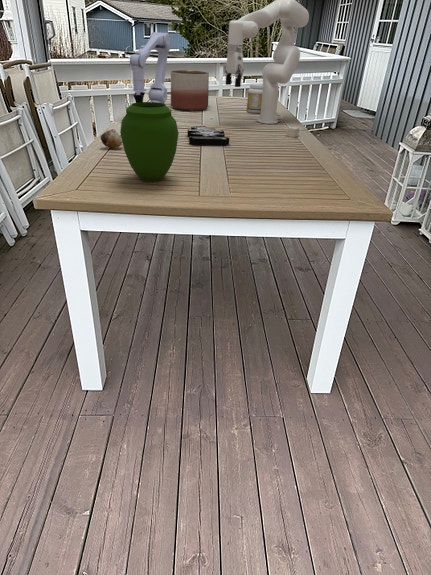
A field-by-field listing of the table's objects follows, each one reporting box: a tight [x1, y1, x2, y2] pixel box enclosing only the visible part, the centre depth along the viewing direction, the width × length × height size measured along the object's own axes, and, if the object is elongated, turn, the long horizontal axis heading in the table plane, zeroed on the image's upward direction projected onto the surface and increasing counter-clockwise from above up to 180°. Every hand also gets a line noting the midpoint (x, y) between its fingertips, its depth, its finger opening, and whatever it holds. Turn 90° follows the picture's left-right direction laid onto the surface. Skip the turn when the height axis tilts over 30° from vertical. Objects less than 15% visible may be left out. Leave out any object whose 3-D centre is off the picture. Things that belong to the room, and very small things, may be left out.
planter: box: [170, 69, 210, 112], centre depth 273 cm, size 25×25×22 cm
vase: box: [119, 101, 179, 182], centre depth 140 cm, size 20×20×24 cm
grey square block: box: [286, 126, 300, 138], centre depth 218 cm, size 5×5×4 cm
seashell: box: [100, 128, 123, 149], centre depth 178 cm, size 10×6×8 cm, turn 91°
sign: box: [187, 125, 230, 147], centre depth 203 cm, size 19×3×30 cm
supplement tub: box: [246, 83, 263, 114], centre depth 274 cm, size 12×12×17 cm
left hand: (139, 107), depth 226 cm, fingers open, 7 cm apart
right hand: (232, 85), depth 220 cm, fingers open, 9 cm apart
